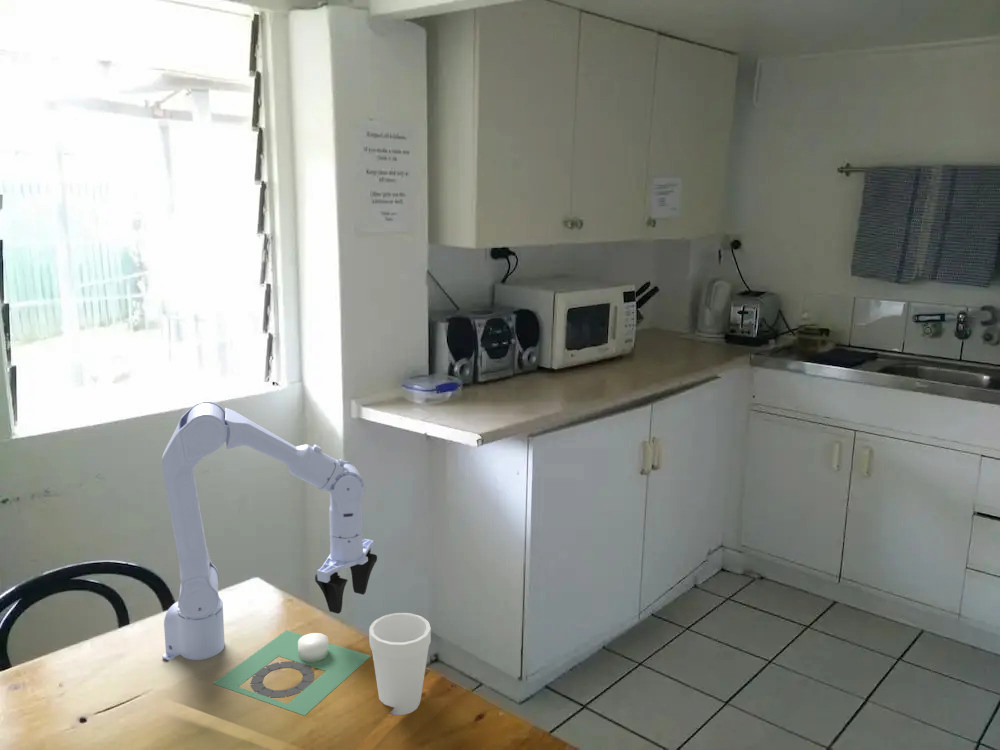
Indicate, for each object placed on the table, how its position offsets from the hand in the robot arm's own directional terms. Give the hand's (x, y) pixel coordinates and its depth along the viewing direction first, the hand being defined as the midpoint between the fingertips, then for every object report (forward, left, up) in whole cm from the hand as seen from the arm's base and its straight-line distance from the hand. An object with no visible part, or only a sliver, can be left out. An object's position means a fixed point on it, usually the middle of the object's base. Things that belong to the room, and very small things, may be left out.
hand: (347, 602), depth 144 cm
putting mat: (0, -15, -6) cm, 16 cm away
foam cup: (+19, -13, -7) cm, 24 cm away
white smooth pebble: (0, -10, -5) cm, 11 cm away
